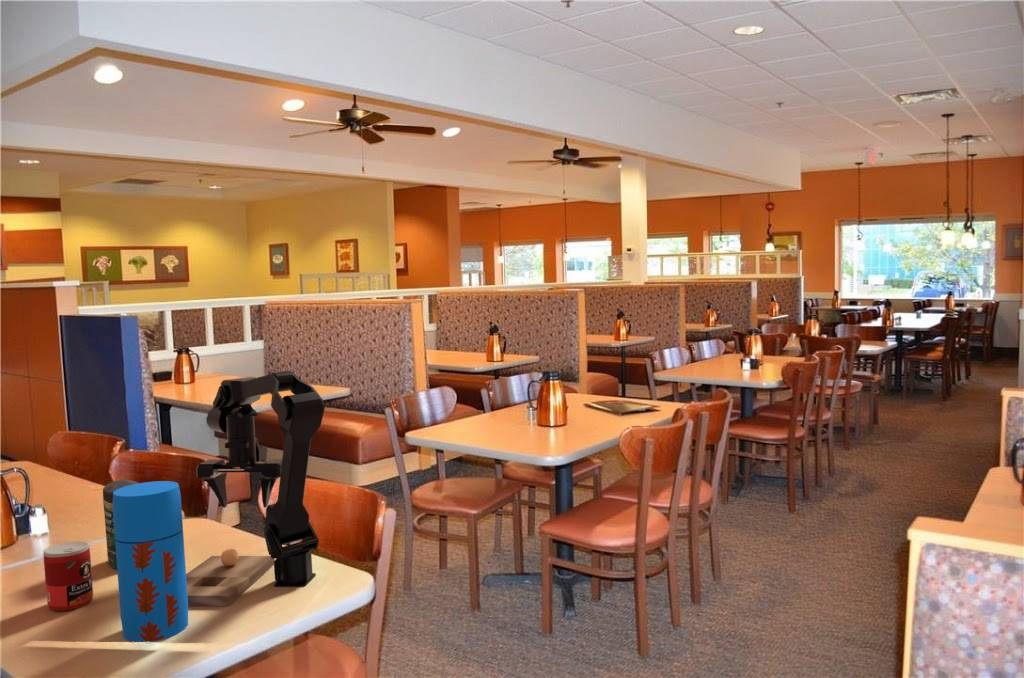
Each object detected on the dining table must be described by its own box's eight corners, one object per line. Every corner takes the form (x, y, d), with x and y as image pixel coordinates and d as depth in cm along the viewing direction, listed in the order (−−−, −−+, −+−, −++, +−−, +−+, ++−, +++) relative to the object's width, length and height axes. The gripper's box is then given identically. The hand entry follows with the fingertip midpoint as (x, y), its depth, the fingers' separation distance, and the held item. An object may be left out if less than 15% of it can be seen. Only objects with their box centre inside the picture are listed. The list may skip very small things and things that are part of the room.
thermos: (136, 618, 146) (126, 482, 144) (197, 614, 147) (188, 479, 145) (111, 645, 135) (100, 498, 134) (177, 640, 136) (167, 494, 134)
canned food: (74, 612, 150) (69, 554, 149) (37, 610, 152) (32, 553, 151) (102, 596, 158) (98, 541, 157) (67, 595, 159) (63, 540, 159)
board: (274, 565, 172) (274, 555, 172) (227, 606, 150) (227, 595, 150) (212, 565, 174) (211, 555, 173) (156, 605, 152) (156, 595, 152)
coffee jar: (103, 564, 177) (97, 481, 176) (141, 555, 182) (136, 474, 181) (116, 575, 169) (109, 488, 168) (155, 565, 175) (149, 481, 173)
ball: (242, 562, 168) (241, 546, 168) (234, 568, 165) (233, 551, 165) (226, 562, 169) (225, 546, 168) (218, 568, 165) (217, 551, 165)
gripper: (296, 428, 181) (300, 497, 182) (217, 429, 183) (221, 497, 184) (277, 438, 170) (281, 511, 171) (192, 439, 172) (197, 511, 173)
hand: (245, 507), depth 175 cm, fingers open, 9 cm apart
